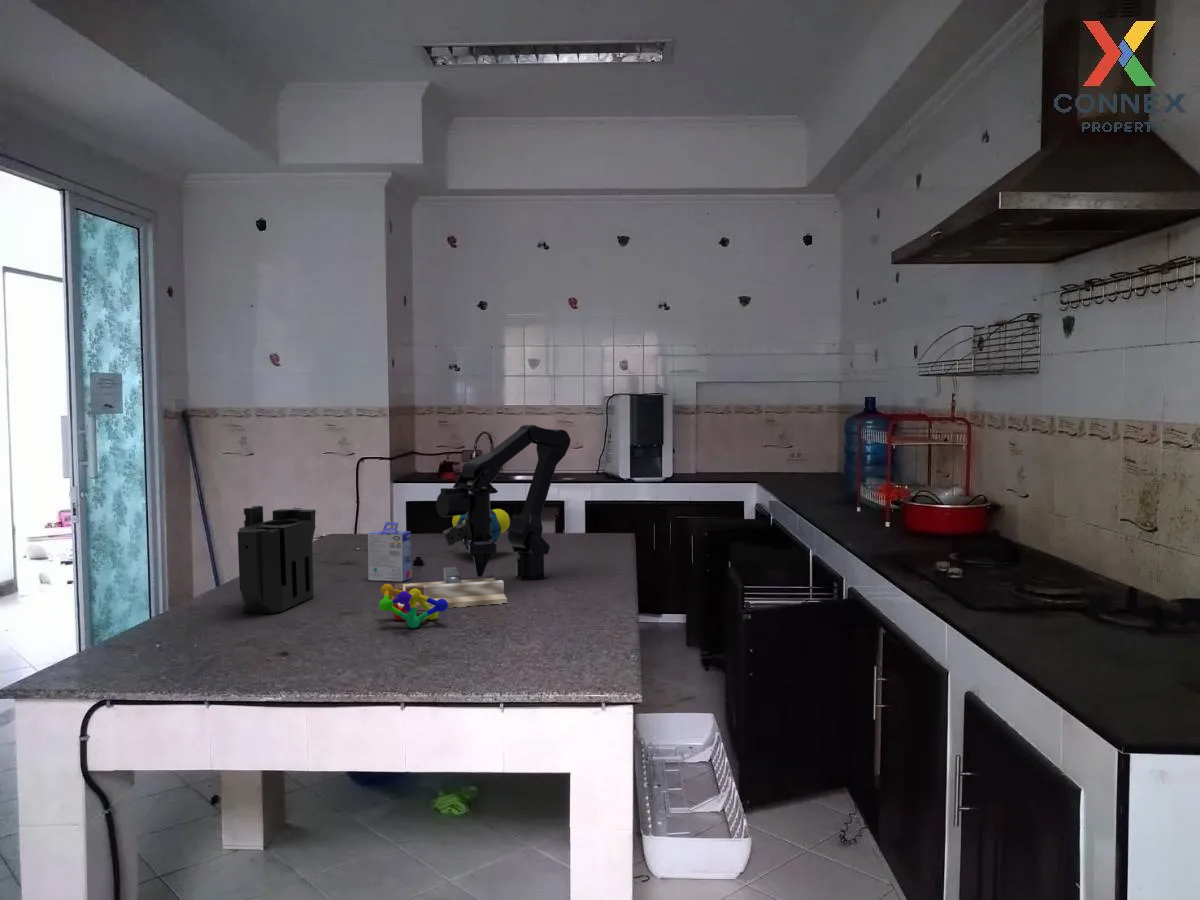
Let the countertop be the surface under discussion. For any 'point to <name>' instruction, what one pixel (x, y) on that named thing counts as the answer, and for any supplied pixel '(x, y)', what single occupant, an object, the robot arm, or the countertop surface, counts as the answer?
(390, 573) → the ink cartridge box
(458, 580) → the latch bar
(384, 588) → the decorative model
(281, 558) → the black machined bracket
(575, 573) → the countertop surface
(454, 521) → the toy
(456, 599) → the board
